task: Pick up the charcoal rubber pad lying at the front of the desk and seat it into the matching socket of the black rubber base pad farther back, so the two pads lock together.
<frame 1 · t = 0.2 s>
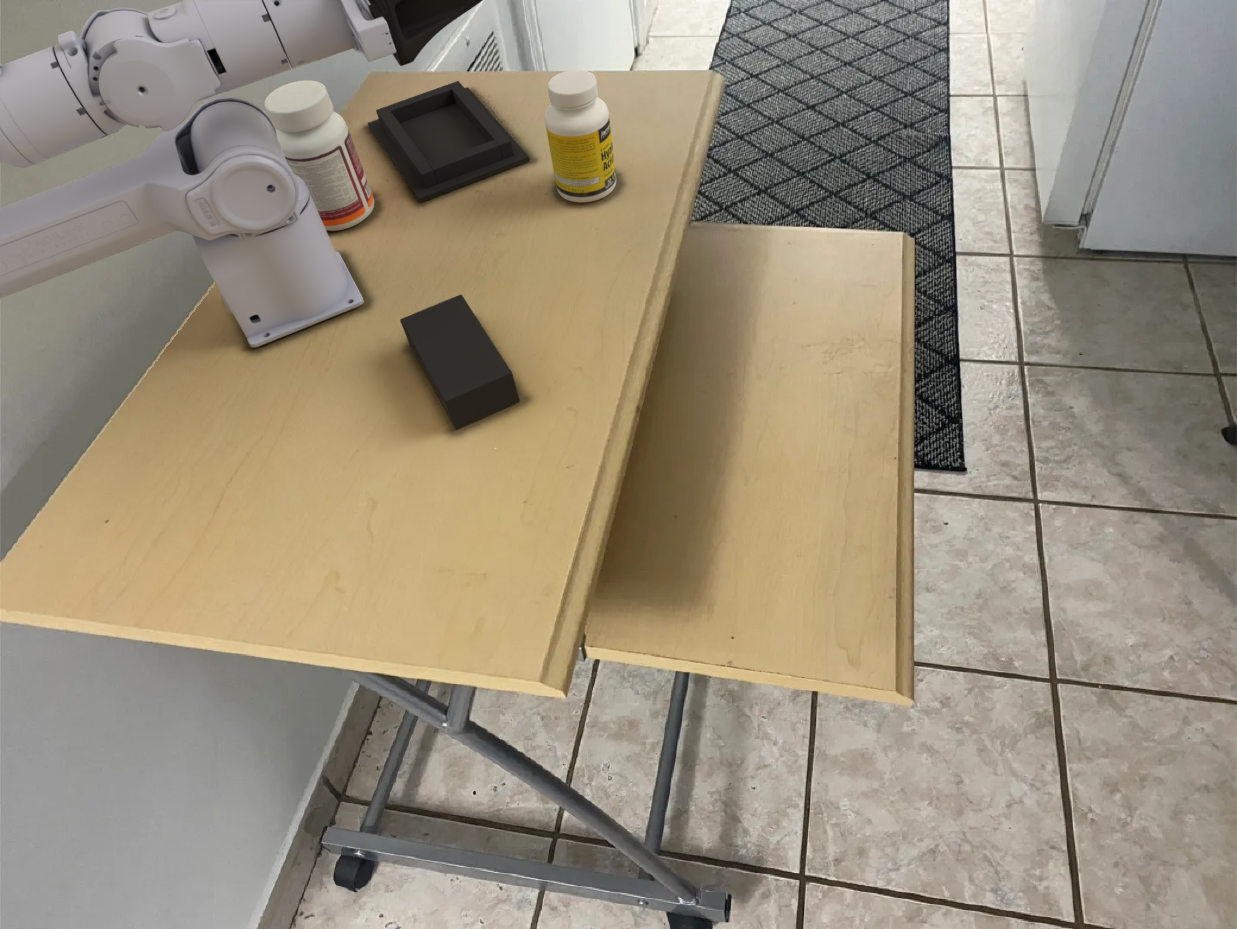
supplement bottle: (587, 188, 81), on the table
base pad: (446, 143, 88), on the table
pill bottle: (343, 214, 83), on the table
charcoal pad: (463, 374, 67), on the table
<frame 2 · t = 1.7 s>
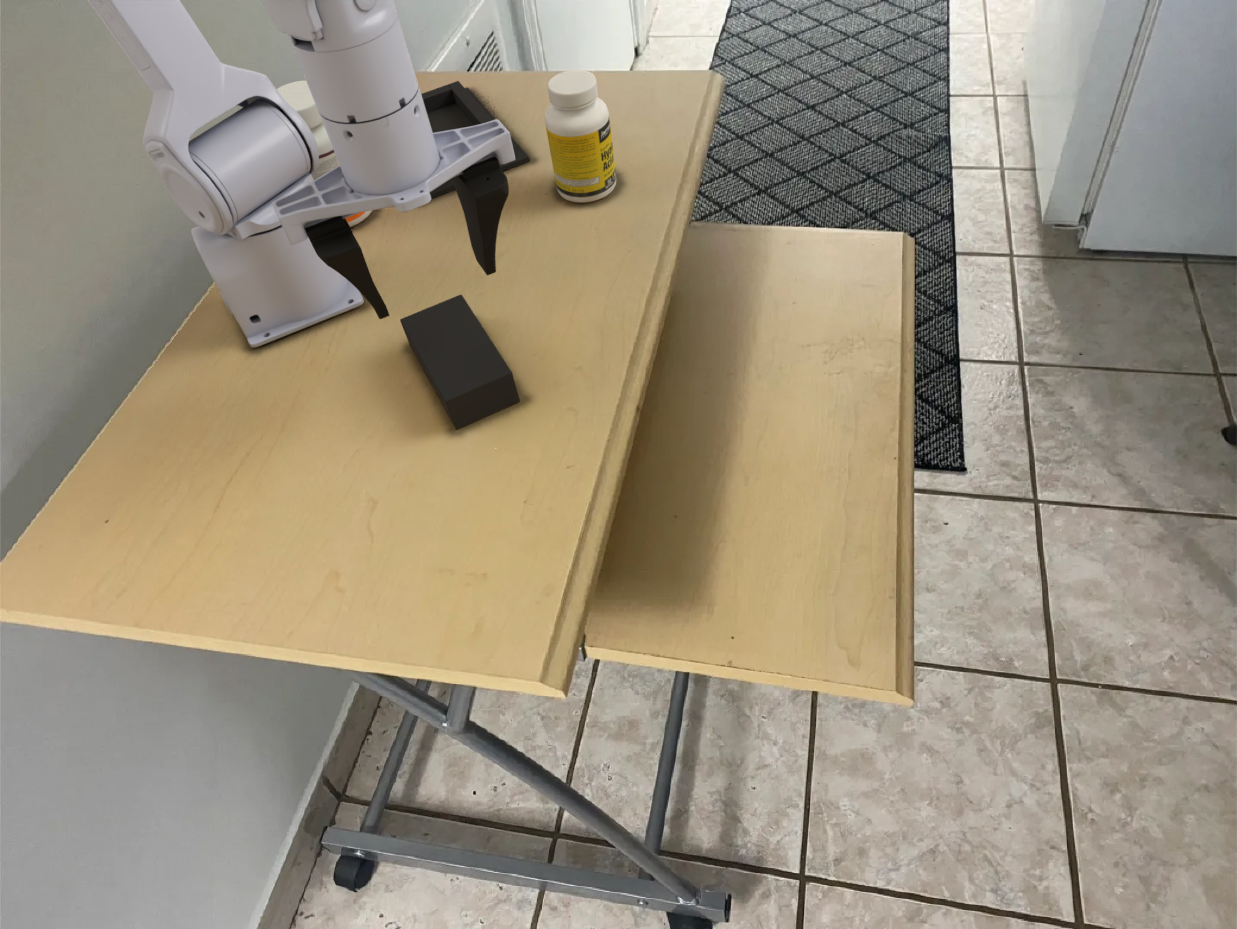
hand: (434, 287, 61), 8 cm above the table, tool pointing down, fingers open, 7 cm apart
nothing on the table moved.
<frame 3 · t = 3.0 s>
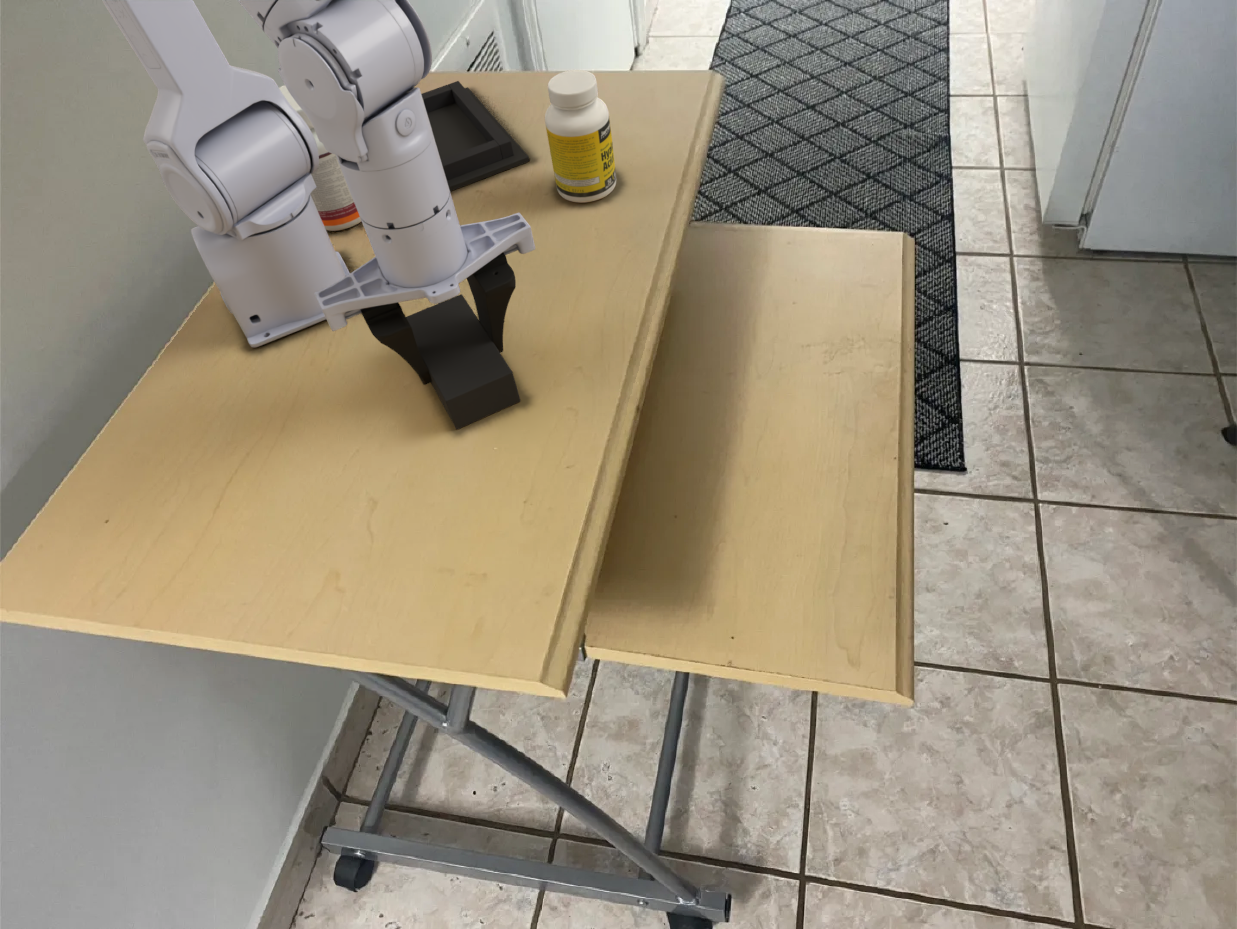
hand: (459, 360, 66), 1 cm above the table, tool pointing down, fingers closed on charcoal pad, 5 cm apart
charcoal pad: (464, 373, 67), on the table, touching gripper
everything else where it was.
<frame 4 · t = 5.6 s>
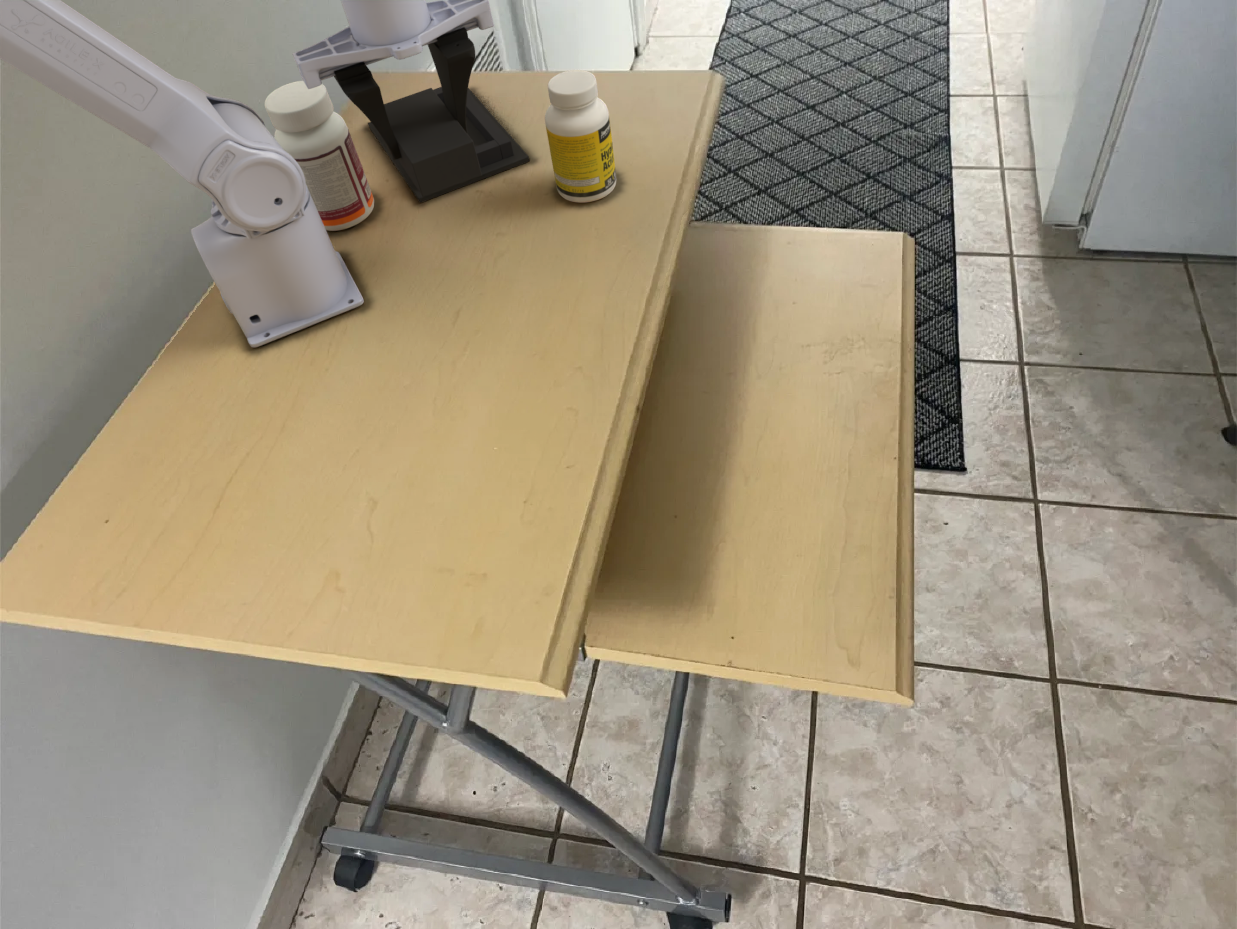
hand: (426, 141, 72), 8 cm above the table, tool pointing down, fingers closed on charcoal pad, 5 cm apart
charcoal pad: (432, 157, 73), point 7 cm above the table, touching gripper
everything else where it was.
when the fingers open (3 cm above the table, at t = 8.3 s): charcoal pad stays where it is, resting on base pad.
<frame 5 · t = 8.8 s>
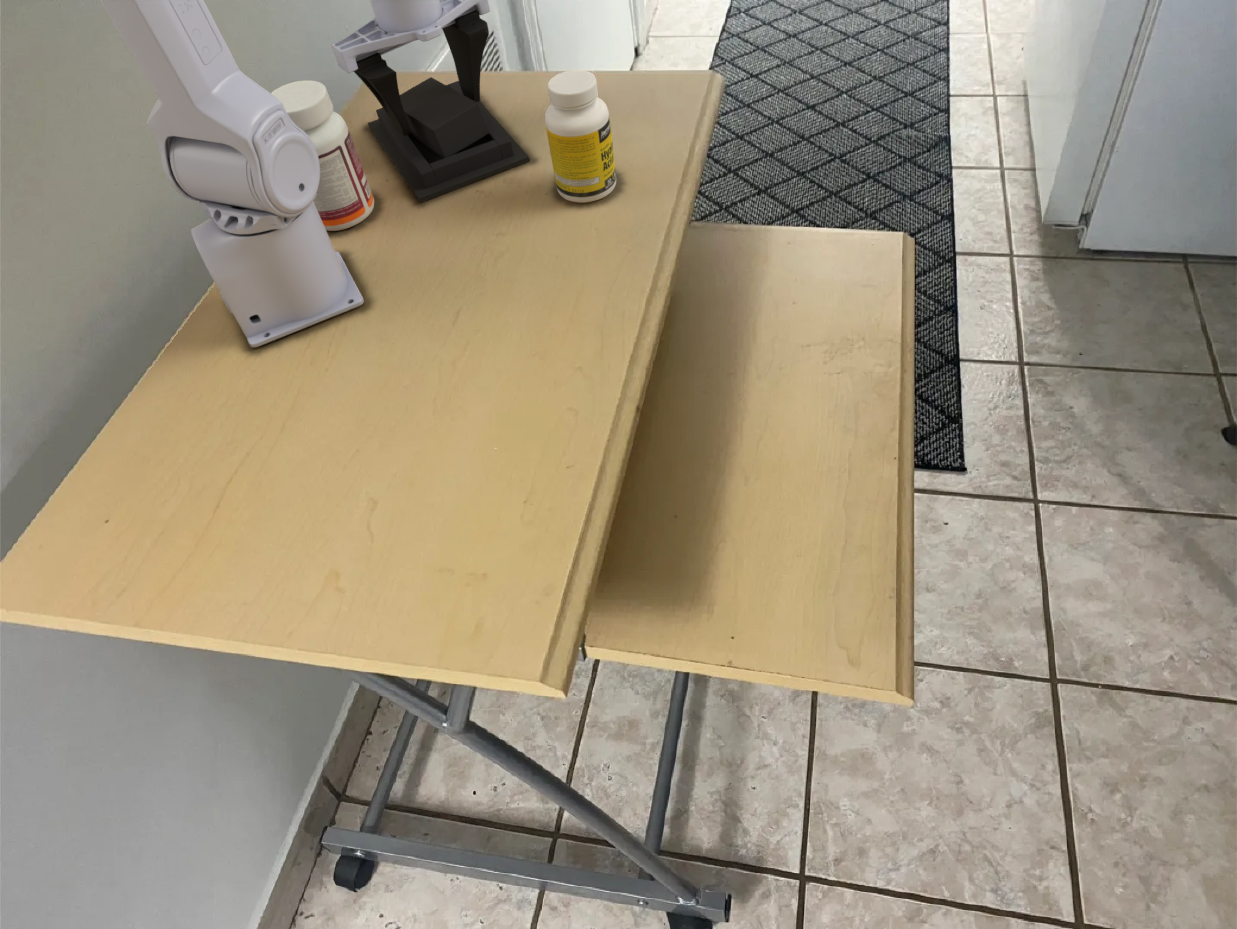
hand: (437, 114, 86), 3 cm above the table, tool pointing down, fingers open, 7 cm apart
charcoal pad: (444, 131, 87), point 1 cm above the table, tilted 8°, touching base pad
everything else where it was.
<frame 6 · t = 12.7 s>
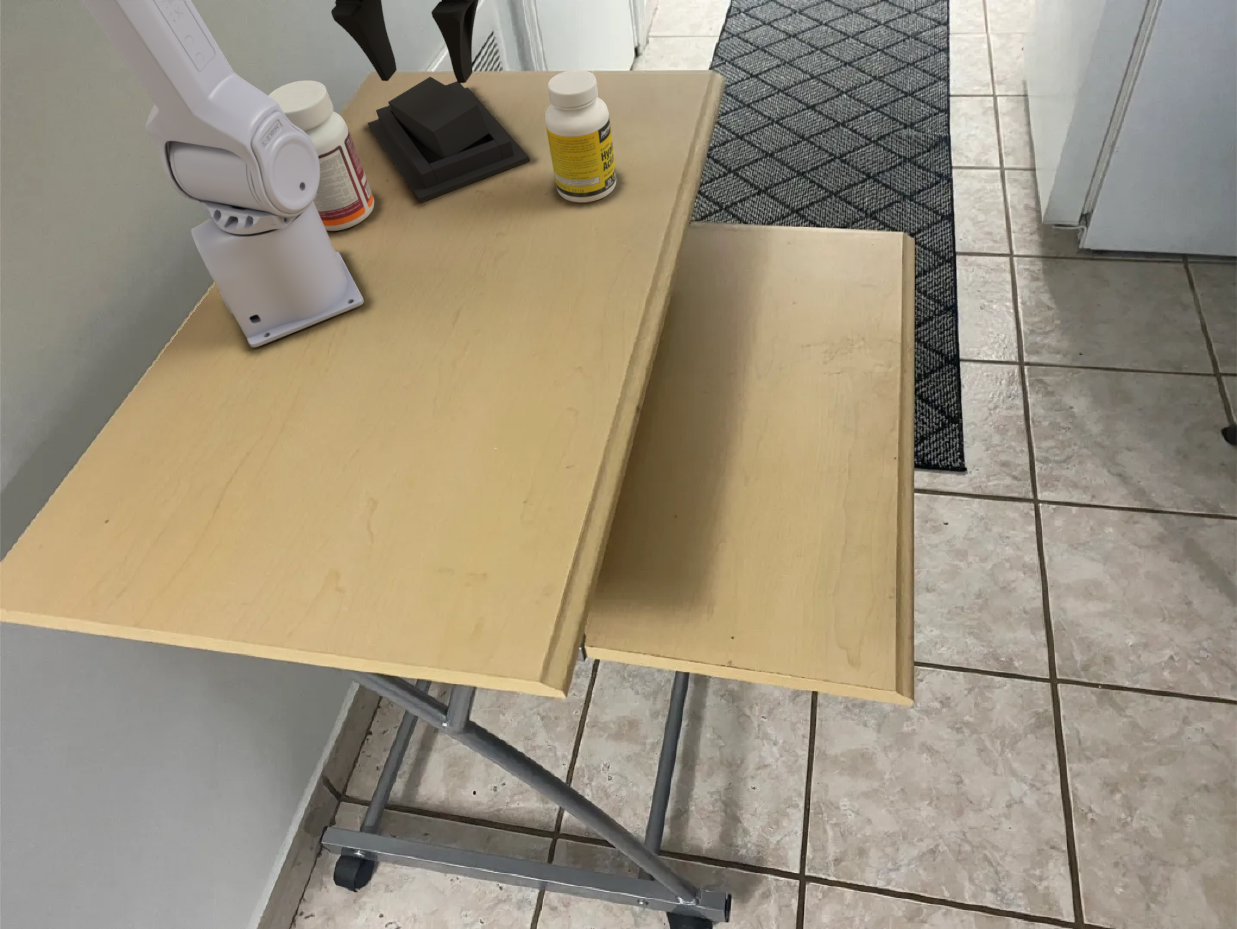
hand: (426, 76, 83), 7 cm above the table, tool pointing down, fingers open, 7 cm apart
nothing on the table moved.
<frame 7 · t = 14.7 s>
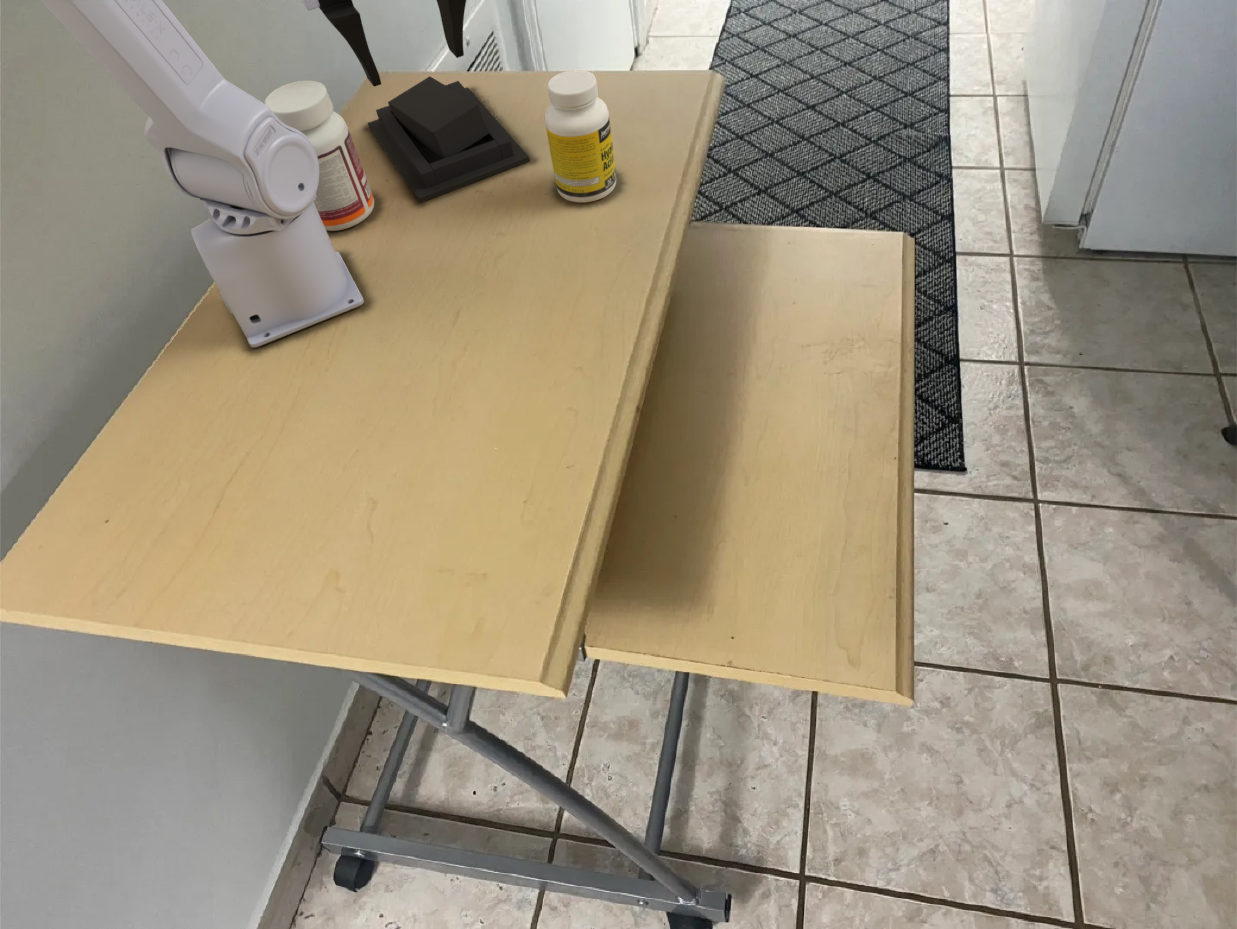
hand: (415, 66, 79), 9 cm above the table, tool pointing down, fingers open, 7 cm apart
nothing on the table moved.
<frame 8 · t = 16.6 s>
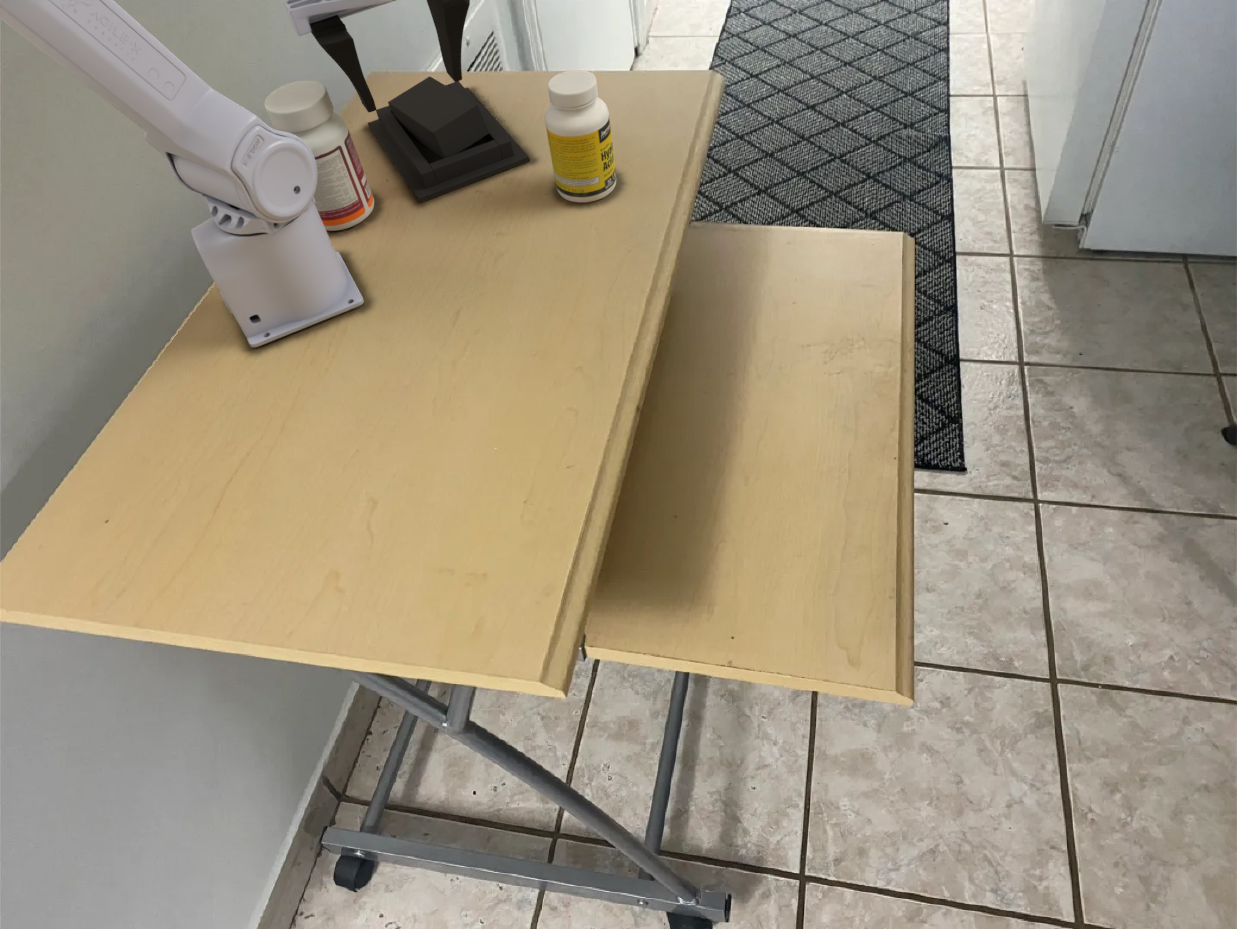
hand: (412, 91, 76), 9 cm above the table, tool pointing down, fingers open, 7 cm apart
nothing on the table moved.
at the end: charcoal pad 0.1 cm off-centre on the base pad, point 1.3 cm above the base pad's base; charcoal pad tilted 9°; the gripper is holding nothing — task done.
